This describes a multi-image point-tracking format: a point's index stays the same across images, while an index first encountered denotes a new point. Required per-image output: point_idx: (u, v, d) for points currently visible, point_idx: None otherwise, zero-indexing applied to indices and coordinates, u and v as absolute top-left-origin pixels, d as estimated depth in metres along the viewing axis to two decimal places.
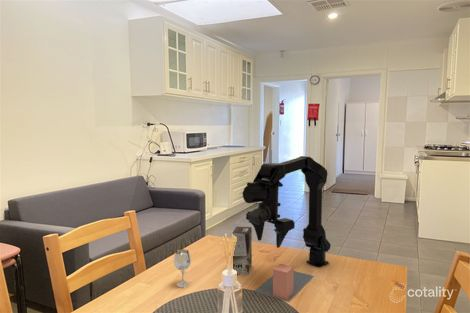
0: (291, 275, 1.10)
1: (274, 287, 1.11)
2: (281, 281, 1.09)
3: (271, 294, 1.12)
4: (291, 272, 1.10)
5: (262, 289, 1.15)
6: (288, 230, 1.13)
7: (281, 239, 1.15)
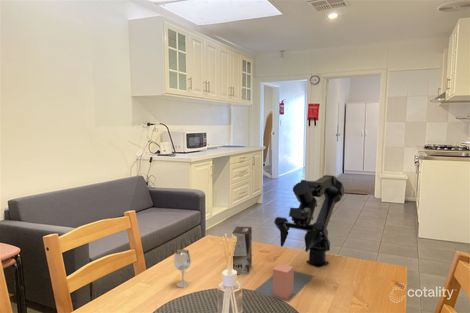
0: (291, 275, 1.10)
1: (274, 287, 1.11)
2: (281, 281, 1.09)
3: (271, 294, 1.12)
4: (291, 272, 1.10)
5: (262, 289, 1.15)
6: (321, 237, 1.17)
7: (311, 244, 1.16)
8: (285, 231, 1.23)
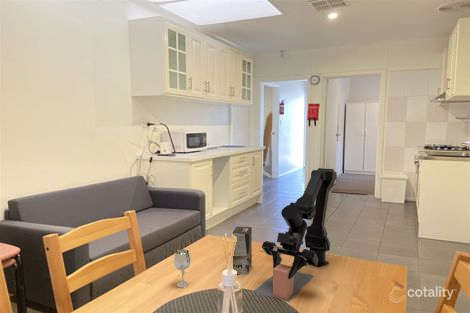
0: None
1: (274, 287, 1.11)
2: (281, 281, 1.09)
3: (271, 294, 1.12)
4: None
5: (262, 289, 1.15)
6: (305, 263, 1.11)
7: (295, 271, 1.10)
8: (278, 258, 1.15)
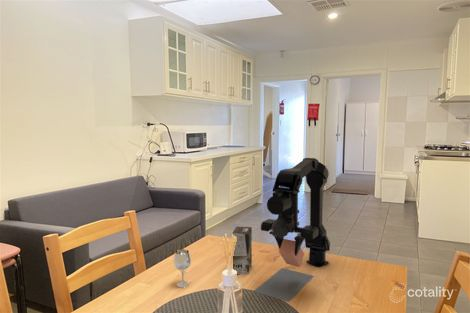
0: None
1: (285, 260, 1.17)
2: (290, 258, 1.14)
3: (271, 294, 1.12)
4: None
5: (262, 289, 1.15)
6: None
7: (299, 246, 1.12)
8: (280, 235, 1.15)
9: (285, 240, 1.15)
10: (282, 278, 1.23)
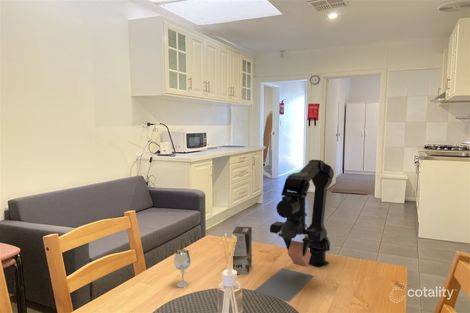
0: None
1: (293, 260, 1.22)
2: (298, 259, 1.19)
3: (271, 294, 1.12)
4: None
5: (262, 289, 1.15)
6: None
7: (307, 247, 1.18)
8: (288, 236, 1.21)
9: (293, 241, 1.21)
10: (282, 278, 1.23)
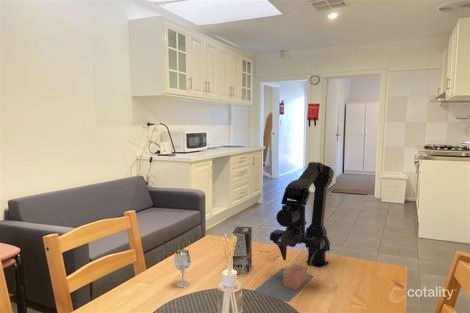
0: (299, 278, 1.16)
1: None
2: None
3: (271, 294, 1.12)
4: (298, 279, 1.15)
5: (262, 289, 1.15)
6: None
7: (312, 257, 1.17)
8: None
9: (285, 274, 1.17)
10: (282, 278, 1.23)
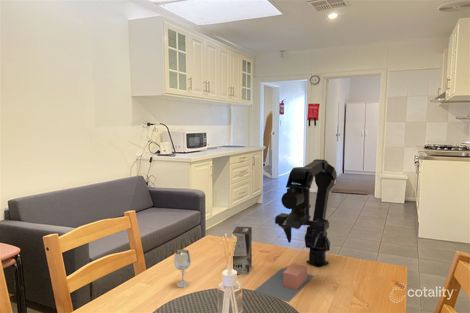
0: (299, 278, 1.16)
1: None
2: None
3: (271, 294, 1.12)
4: (298, 279, 1.15)
5: (262, 289, 1.15)
6: None
7: (316, 239, 1.20)
8: None
9: (285, 274, 1.17)
10: (282, 278, 1.23)
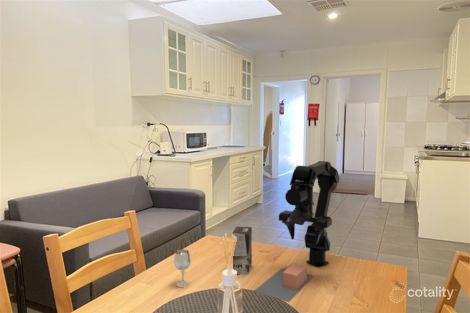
0: (299, 278, 1.16)
1: None
2: None
3: (271, 294, 1.12)
4: (298, 279, 1.15)
5: (262, 289, 1.15)
6: None
7: (319, 236, 1.22)
8: (291, 224, 1.28)
9: (285, 274, 1.17)
10: (282, 278, 1.23)
